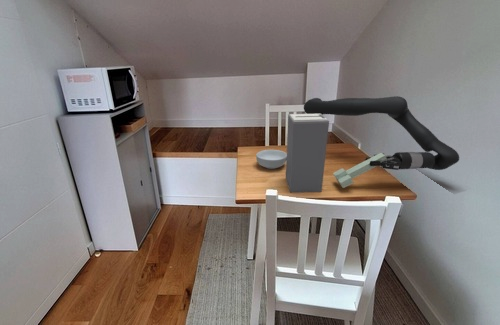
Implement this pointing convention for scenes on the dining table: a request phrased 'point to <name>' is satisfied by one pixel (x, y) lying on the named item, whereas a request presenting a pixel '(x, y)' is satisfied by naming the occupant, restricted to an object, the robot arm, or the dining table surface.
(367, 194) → the dining table surface
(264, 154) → the cereal bowl
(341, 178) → the sage t bar
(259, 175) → the dining table surface
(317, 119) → the tall grey slotted pedestal
